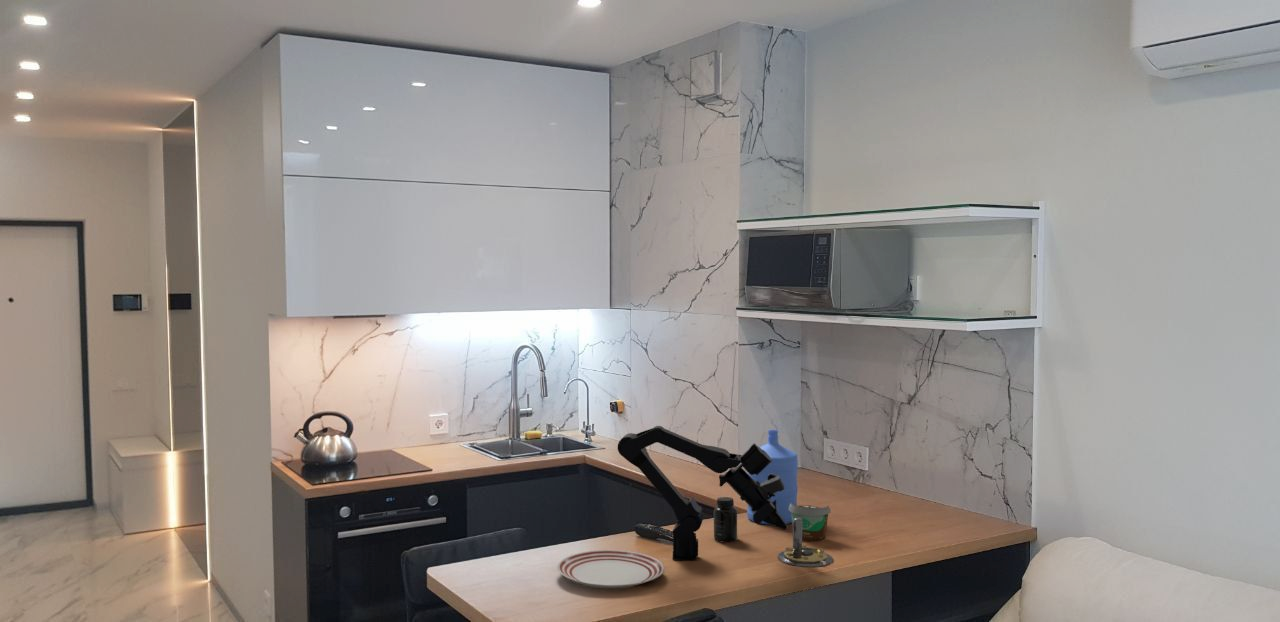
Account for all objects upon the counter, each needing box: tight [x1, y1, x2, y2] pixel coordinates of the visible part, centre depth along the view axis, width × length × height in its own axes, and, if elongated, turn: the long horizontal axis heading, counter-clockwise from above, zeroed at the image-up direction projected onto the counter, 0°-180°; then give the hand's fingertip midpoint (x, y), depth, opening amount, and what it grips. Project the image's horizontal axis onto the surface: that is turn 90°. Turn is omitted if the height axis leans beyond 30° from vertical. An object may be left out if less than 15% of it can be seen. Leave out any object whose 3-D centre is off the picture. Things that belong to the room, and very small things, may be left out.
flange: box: [777, 547, 834, 568], centre depth 268 cm, size 15×15×2 cm
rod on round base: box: [783, 518, 828, 563], centre depth 268 cm, size 12×12×12 cm
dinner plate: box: [556, 549, 665, 590], centre depth 252 cm, size 27×27×3 cm
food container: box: [789, 504, 832, 543], centre depth 286 cm, size 12×6×10 cm, turn 70°
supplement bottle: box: [713, 496, 738, 543], centre depth 286 cm, size 7×7×12 cm
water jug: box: [746, 429, 799, 526], centre depth 309 cm, size 16×16×28 cm
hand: (786, 528), depth 265 cm, fingers closed
